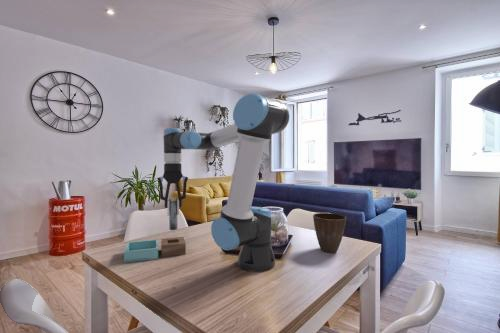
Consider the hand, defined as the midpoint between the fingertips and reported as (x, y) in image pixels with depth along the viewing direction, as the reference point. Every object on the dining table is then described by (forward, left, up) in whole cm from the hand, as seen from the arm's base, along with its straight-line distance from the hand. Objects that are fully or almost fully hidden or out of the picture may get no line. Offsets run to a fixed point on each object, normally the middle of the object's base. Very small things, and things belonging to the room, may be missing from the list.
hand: (173, 214), depth 117 cm
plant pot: (-21, -69, -17) cm, 74 cm away
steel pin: (0, 0, -7) cm, 7 cm away
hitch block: (0, 0, -17) cm, 17 cm away
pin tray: (0, +13, -17) cm, 22 cm away
